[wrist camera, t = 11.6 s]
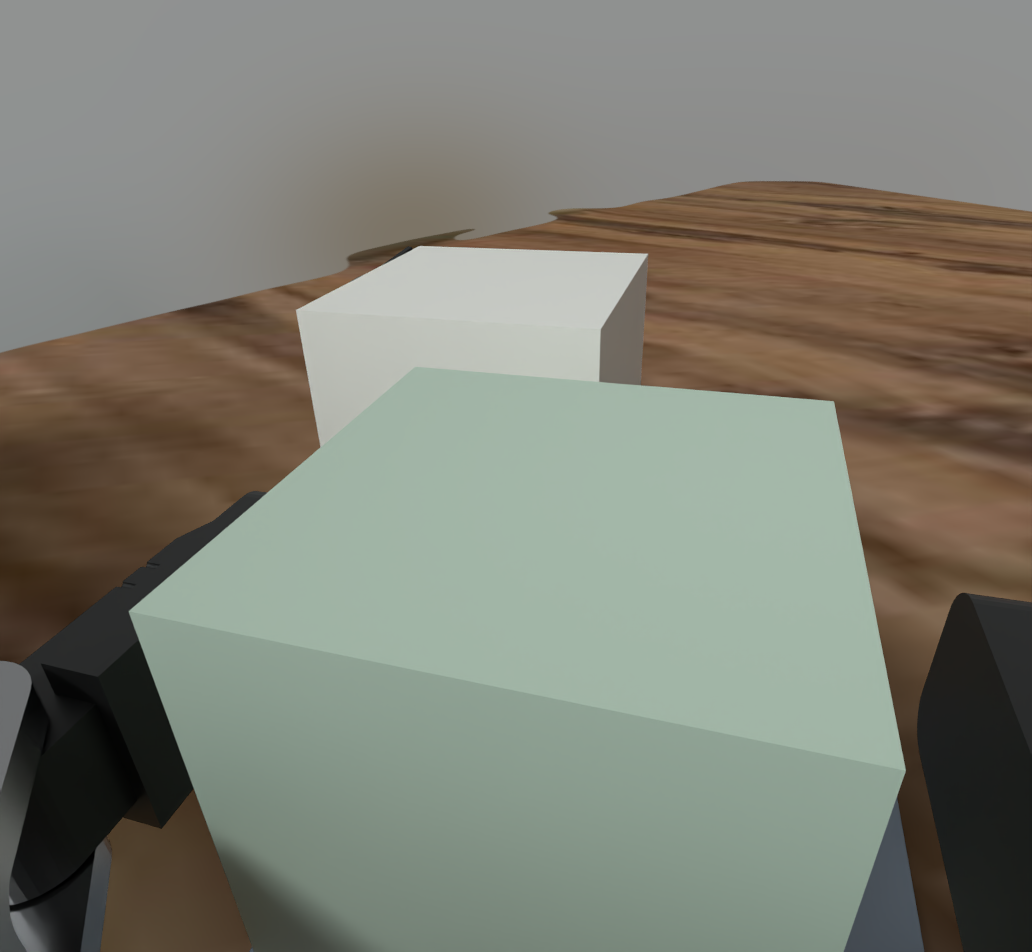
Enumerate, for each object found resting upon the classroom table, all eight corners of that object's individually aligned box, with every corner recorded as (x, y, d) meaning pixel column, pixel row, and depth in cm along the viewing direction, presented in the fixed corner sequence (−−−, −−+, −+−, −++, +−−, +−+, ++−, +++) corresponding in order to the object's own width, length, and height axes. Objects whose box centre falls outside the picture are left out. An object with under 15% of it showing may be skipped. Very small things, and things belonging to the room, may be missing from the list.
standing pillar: (378, 769, 17) (296, 310, 12) (454, 631, 21) (419, 246, 16) (586, 820, 16) (600, 329, 10) (624, 662, 20) (648, 253, 15)
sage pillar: (348, 1206, 10) (129, 611, 5) (467, 882, 15) (415, 366, 9) (703, 1359, 9) (905, 770, 4) (723, 954, 13) (833, 402, 8)
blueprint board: (-64, 1578, 9) (-161, 1545, 7) (453, 637, 23) (447, 576, 22) (1128, 2414, 5) (1285, 2590, 4) (867, 715, 20) (886, 648, 18)
